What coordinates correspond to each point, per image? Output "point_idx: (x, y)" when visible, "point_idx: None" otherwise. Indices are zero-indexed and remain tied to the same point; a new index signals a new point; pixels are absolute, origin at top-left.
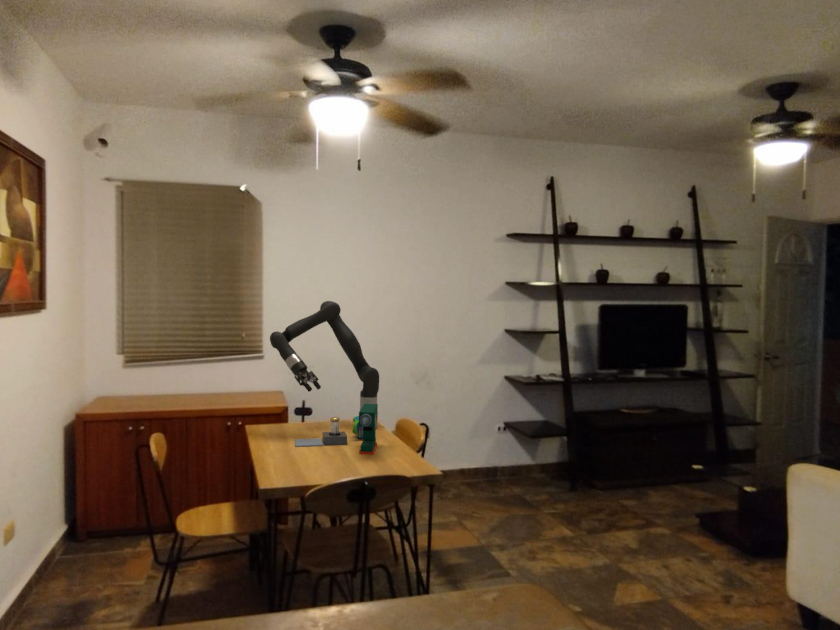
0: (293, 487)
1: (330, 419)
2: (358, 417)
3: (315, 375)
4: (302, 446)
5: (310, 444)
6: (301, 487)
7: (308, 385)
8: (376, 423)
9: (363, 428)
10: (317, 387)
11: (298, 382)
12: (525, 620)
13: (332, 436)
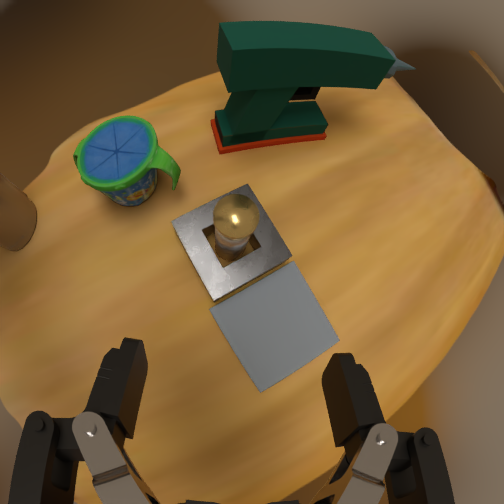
0: (498, 199)
1: (249, 234)
2: (98, 174)
3: (13, 473)
4: (327, 321)
5: (307, 302)
6: (494, 189)
7: (365, 399)
8: (18, 189)
9: (316, 93)
10: (140, 378)
11: (413, 484)
12: (485, 64)
13: (269, 231)
